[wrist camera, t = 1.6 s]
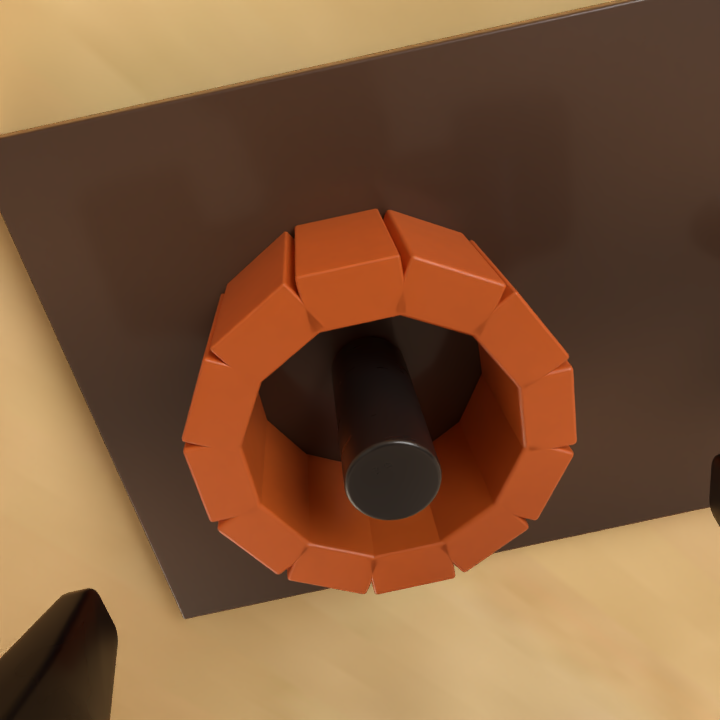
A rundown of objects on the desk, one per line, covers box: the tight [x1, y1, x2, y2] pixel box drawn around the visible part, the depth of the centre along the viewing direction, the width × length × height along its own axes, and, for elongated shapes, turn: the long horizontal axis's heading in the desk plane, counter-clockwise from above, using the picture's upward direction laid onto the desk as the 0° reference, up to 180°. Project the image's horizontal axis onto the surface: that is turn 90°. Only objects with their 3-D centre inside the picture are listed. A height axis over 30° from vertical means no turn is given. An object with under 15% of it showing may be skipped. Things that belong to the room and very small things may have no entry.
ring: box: [182, 209, 577, 594], centre depth 13 cm, size 7×7×3 cm
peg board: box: [0, 0, 720, 619], centre depth 13 cm, size 12×22×5 cm, turn 101°
